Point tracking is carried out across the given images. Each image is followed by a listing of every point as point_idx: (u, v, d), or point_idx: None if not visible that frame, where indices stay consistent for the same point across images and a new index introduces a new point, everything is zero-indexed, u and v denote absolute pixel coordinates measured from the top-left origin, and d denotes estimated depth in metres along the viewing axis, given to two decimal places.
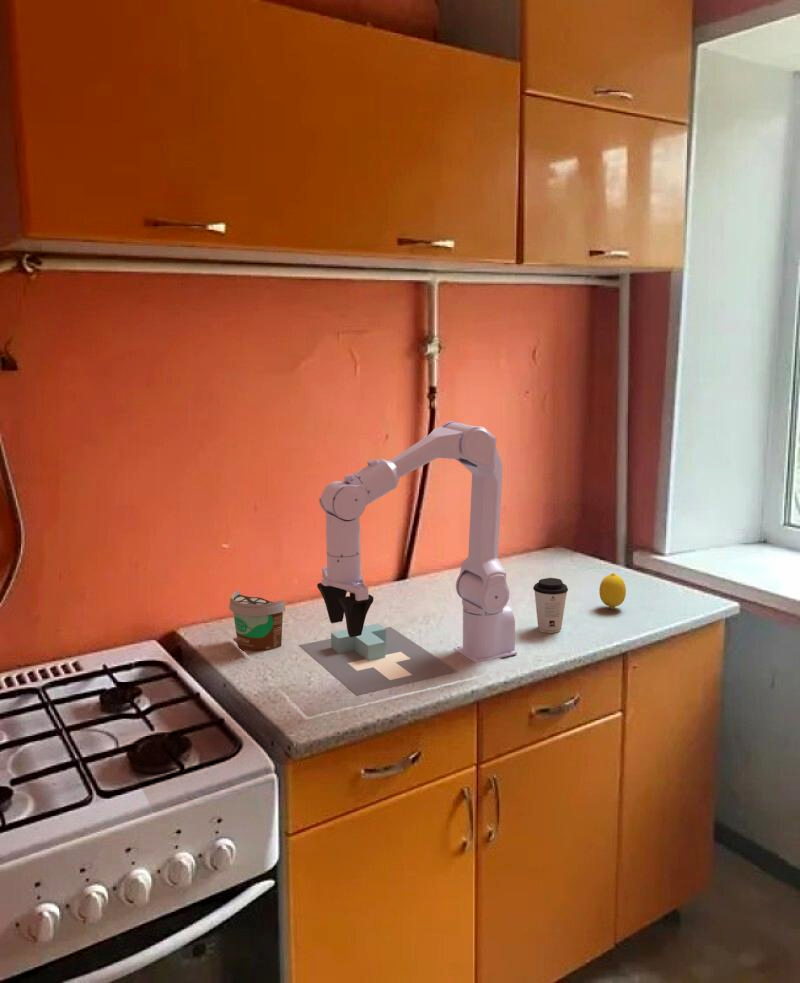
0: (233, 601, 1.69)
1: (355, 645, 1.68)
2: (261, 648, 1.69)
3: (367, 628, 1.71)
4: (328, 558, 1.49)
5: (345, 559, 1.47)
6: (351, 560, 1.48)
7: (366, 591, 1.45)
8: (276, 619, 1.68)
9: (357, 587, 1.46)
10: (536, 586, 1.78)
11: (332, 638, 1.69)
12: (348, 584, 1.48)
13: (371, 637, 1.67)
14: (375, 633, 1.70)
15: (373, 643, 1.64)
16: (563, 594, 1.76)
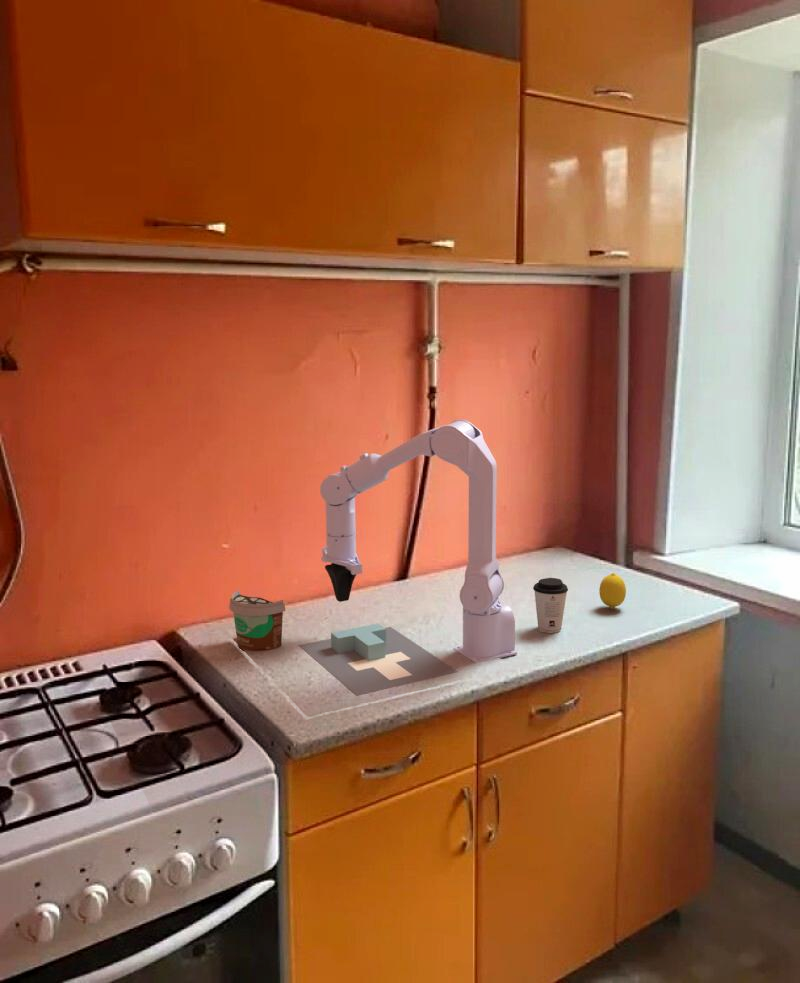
0: (233, 601, 1.69)
1: (355, 645, 1.68)
2: (261, 648, 1.69)
3: (367, 628, 1.71)
4: (327, 538, 1.71)
5: (342, 539, 1.70)
6: (347, 539, 1.70)
7: (360, 566, 1.68)
8: (276, 619, 1.68)
9: (352, 563, 1.69)
10: (536, 586, 1.78)
11: (332, 638, 1.69)
12: (345, 560, 1.71)
13: (371, 637, 1.67)
14: (375, 633, 1.70)
15: (373, 643, 1.64)
16: (563, 593, 1.76)
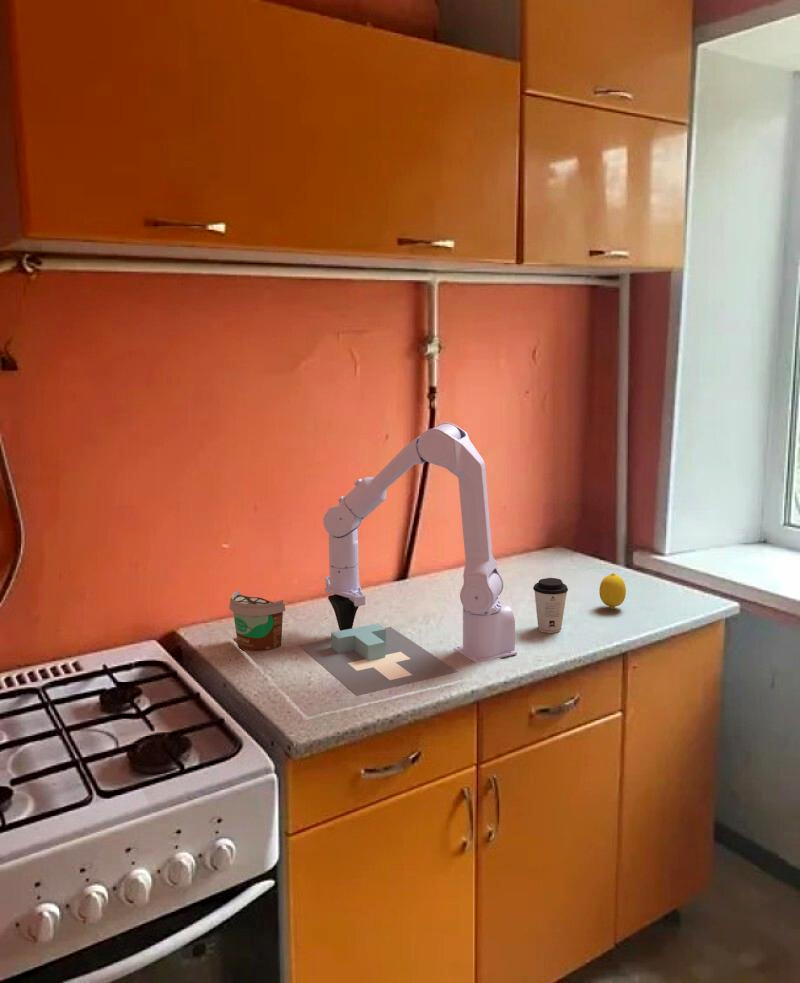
0: (233, 601, 1.69)
1: (355, 645, 1.68)
2: (261, 648, 1.69)
3: (367, 628, 1.71)
4: (330, 569, 1.72)
5: (345, 570, 1.70)
6: (350, 571, 1.71)
7: (363, 598, 1.68)
8: (276, 619, 1.68)
9: (355, 594, 1.69)
10: (536, 586, 1.78)
11: (332, 638, 1.69)
12: (348, 592, 1.71)
13: (371, 637, 1.67)
14: (375, 633, 1.70)
15: (373, 643, 1.64)
16: (563, 594, 1.76)
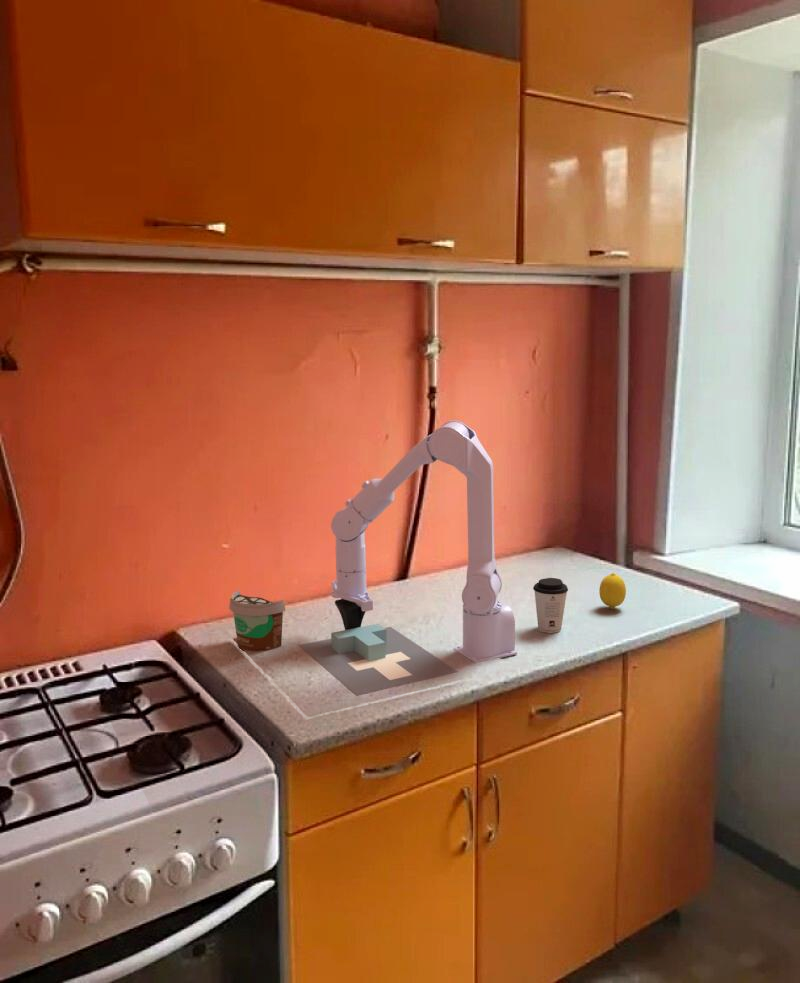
0: (233, 601, 1.69)
1: (355, 645, 1.68)
2: (261, 648, 1.69)
3: (367, 629, 1.71)
4: (337, 573, 1.69)
5: (352, 574, 1.68)
6: (357, 575, 1.68)
7: (371, 603, 1.65)
8: (276, 619, 1.68)
9: (363, 599, 1.66)
10: (536, 586, 1.78)
11: (332, 638, 1.69)
12: (355, 596, 1.68)
13: (371, 637, 1.67)
14: (375, 633, 1.70)
15: (373, 643, 1.64)
16: (563, 594, 1.76)
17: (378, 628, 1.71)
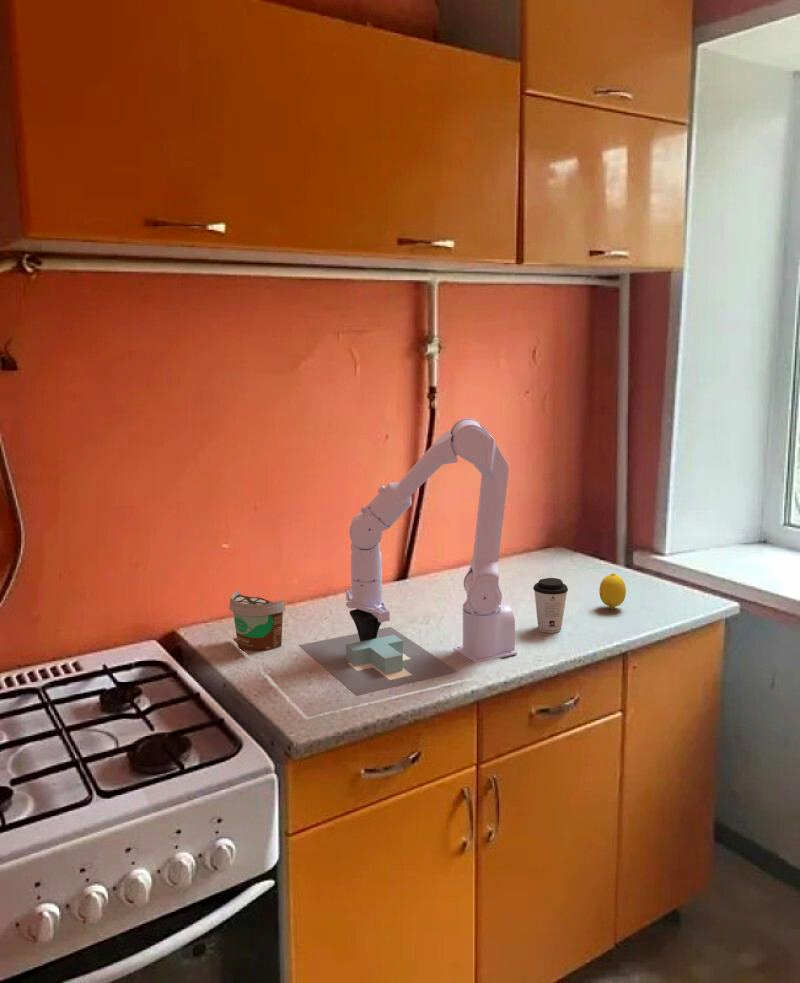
0: (233, 601, 1.69)
1: (371, 658, 1.62)
2: (261, 648, 1.69)
3: (383, 640, 1.65)
4: (352, 583, 1.63)
5: (368, 584, 1.62)
6: (373, 585, 1.62)
7: (387, 614, 1.59)
8: (275, 619, 1.68)
9: (379, 610, 1.60)
10: (536, 586, 1.78)
11: (347, 650, 1.63)
12: (371, 607, 1.62)
13: (387, 649, 1.61)
14: (392, 645, 1.64)
15: (390, 656, 1.58)
16: (563, 594, 1.76)
17: (394, 639, 1.65)
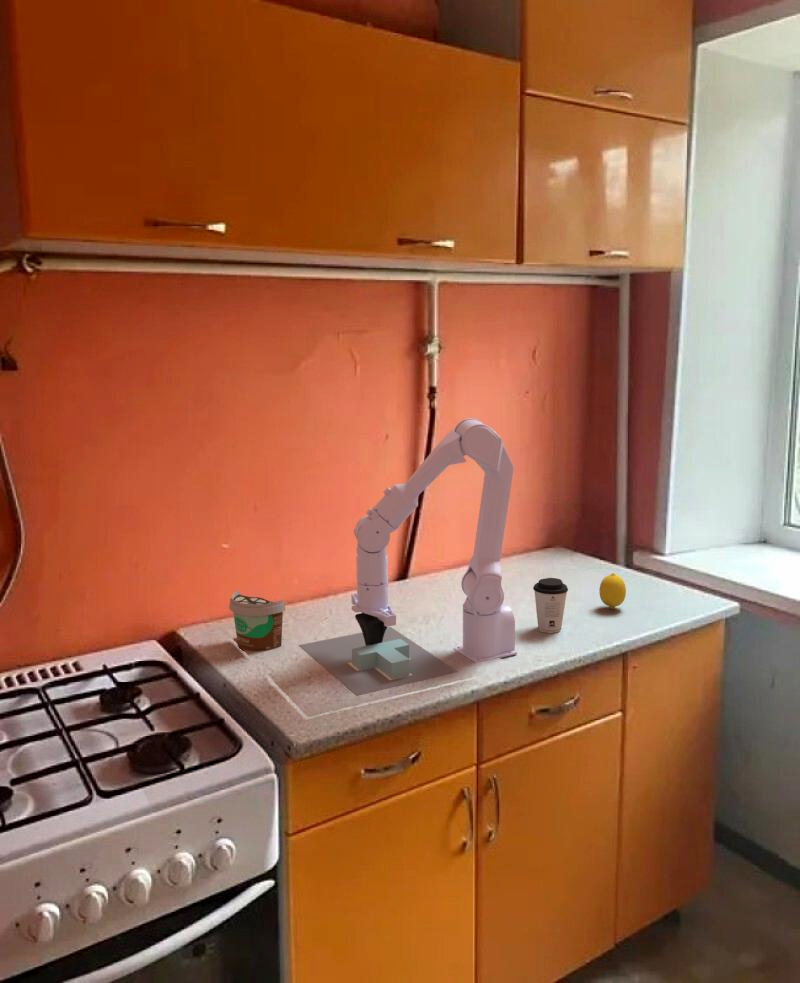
0: (233, 601, 1.69)
1: (377, 662, 1.60)
2: (261, 648, 1.69)
3: (389, 644, 1.63)
4: (358, 586, 1.61)
5: (374, 588, 1.59)
6: (379, 588, 1.60)
7: (394, 618, 1.57)
8: (276, 619, 1.68)
9: (385, 614, 1.58)
10: (536, 586, 1.78)
11: (353, 655, 1.61)
12: (377, 611, 1.60)
13: (394, 654, 1.59)
14: (398, 649, 1.62)
15: (397, 660, 1.56)
16: (563, 594, 1.76)
17: (401, 644, 1.63)
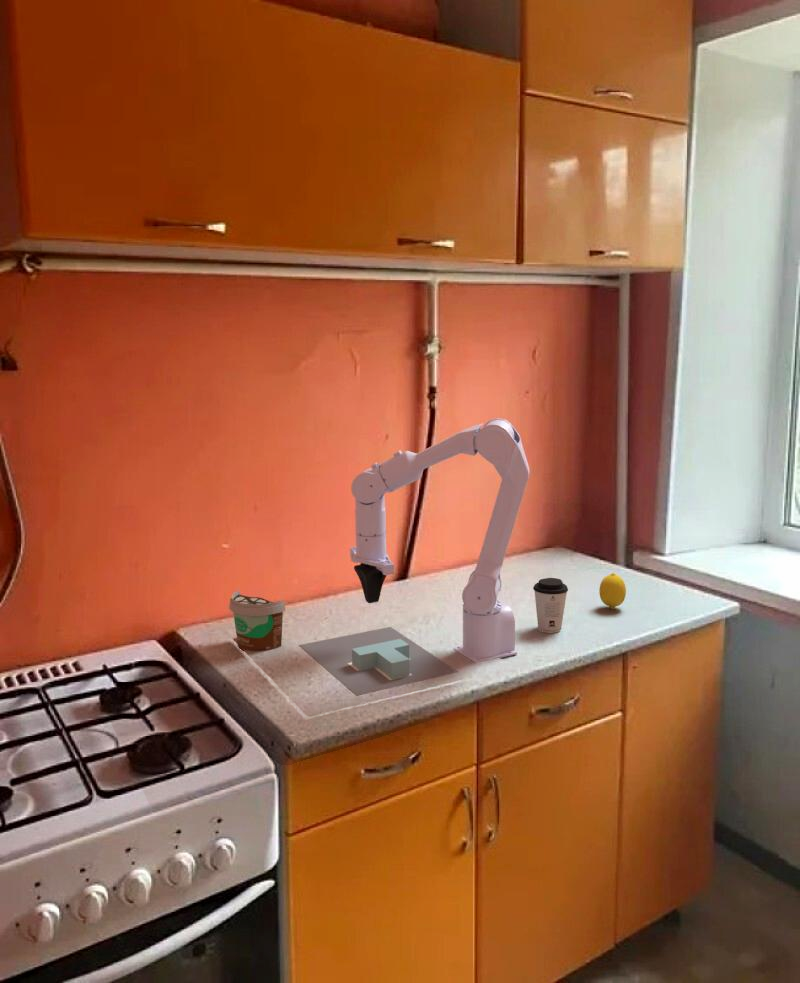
0: (233, 601, 1.69)
1: (377, 662, 1.60)
2: (261, 648, 1.69)
3: (389, 644, 1.63)
4: (357, 538, 1.66)
5: (373, 538, 1.65)
6: (378, 539, 1.65)
7: (392, 566, 1.62)
8: (276, 619, 1.68)
9: (384, 563, 1.63)
10: (536, 586, 1.78)
11: (353, 655, 1.61)
12: (375, 561, 1.65)
13: (394, 654, 1.59)
14: (398, 649, 1.62)
15: (397, 660, 1.56)
16: (563, 593, 1.76)
17: (401, 644, 1.63)
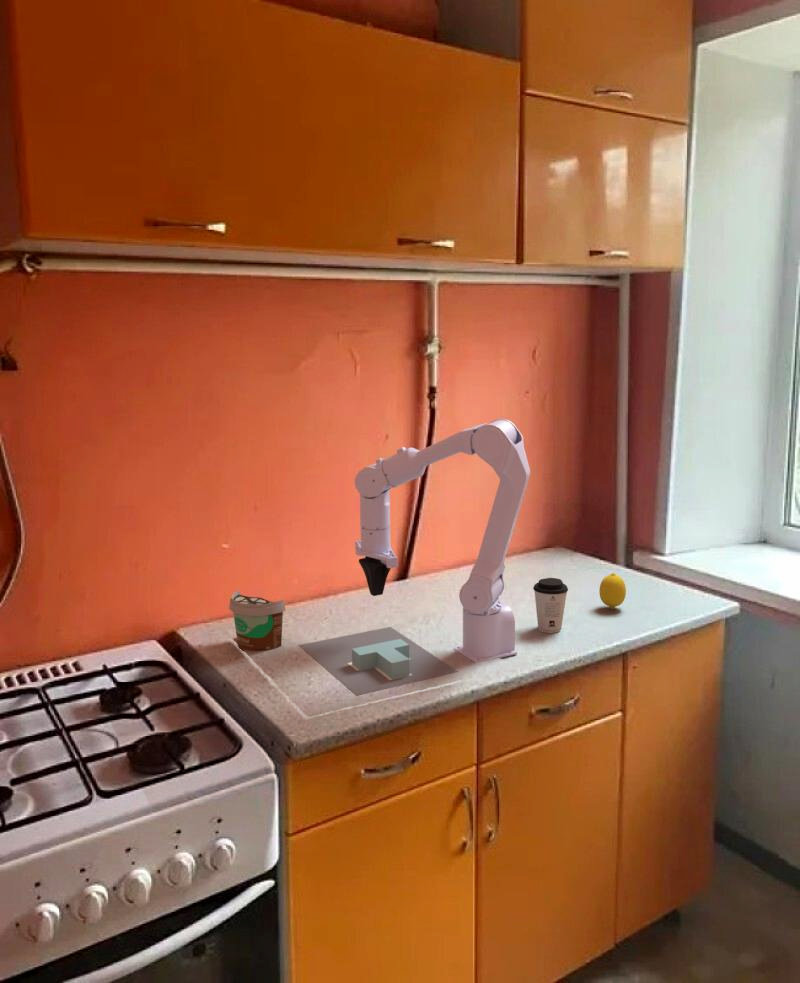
0: (233, 601, 1.69)
1: (377, 662, 1.60)
2: (261, 648, 1.69)
3: (389, 644, 1.63)
4: (362, 531, 1.69)
5: (377, 532, 1.68)
6: (382, 533, 1.68)
7: (396, 560, 1.65)
8: (276, 619, 1.68)
9: (388, 556, 1.66)
10: (536, 586, 1.78)
11: (353, 655, 1.61)
12: (379, 554, 1.68)
13: (394, 654, 1.59)
14: (398, 649, 1.62)
15: (397, 660, 1.56)
16: (563, 593, 1.76)
17: (401, 644, 1.63)
